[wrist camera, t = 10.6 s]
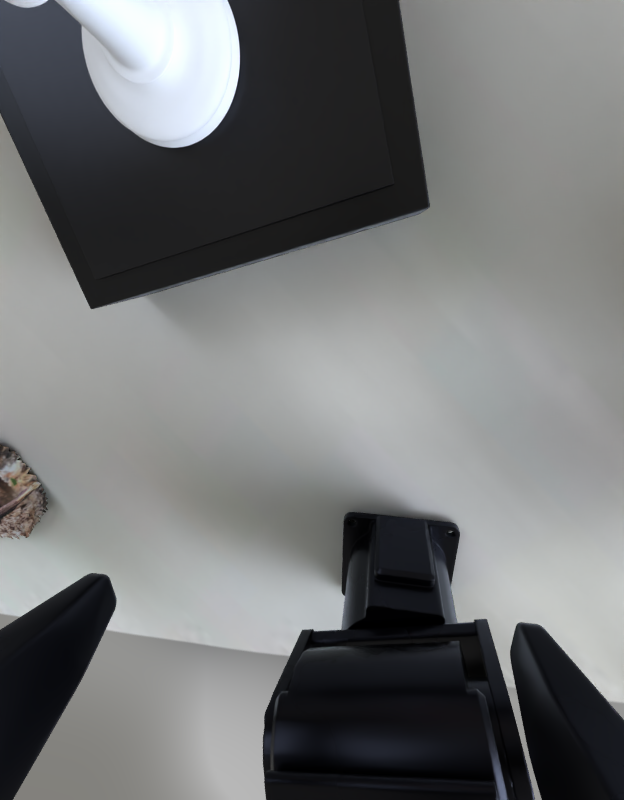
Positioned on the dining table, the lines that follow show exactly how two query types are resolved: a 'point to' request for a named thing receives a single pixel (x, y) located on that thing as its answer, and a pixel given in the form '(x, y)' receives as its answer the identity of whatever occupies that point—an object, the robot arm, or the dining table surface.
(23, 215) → the dining table surface
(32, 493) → the grey mottled stone figure
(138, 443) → the dining table surface
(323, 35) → the stand
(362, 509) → the dining table surface
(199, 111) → the chess piece
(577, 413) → the dining table surface
